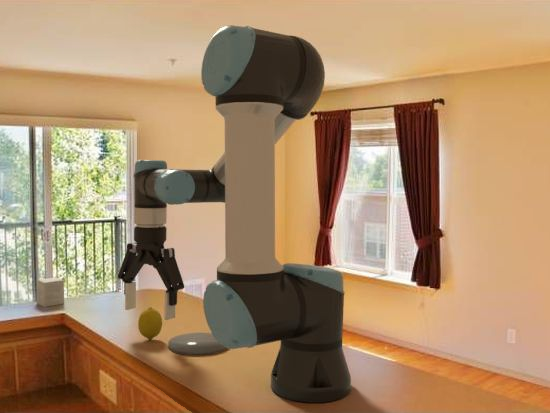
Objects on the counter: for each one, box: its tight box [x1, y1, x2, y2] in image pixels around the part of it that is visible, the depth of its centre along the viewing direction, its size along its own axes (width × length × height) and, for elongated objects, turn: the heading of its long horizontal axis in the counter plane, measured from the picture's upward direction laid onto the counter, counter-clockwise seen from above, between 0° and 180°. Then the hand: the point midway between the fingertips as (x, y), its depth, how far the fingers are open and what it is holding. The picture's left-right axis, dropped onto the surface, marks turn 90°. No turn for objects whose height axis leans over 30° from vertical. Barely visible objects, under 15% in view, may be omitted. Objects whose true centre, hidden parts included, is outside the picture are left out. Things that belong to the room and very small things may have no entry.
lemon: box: [137, 306, 163, 341], centre depth 134 cm, size 6×6×8 cm
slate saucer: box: [167, 332, 228, 356], centre depth 130 cm, size 14×14×1 cm
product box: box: [36, 277, 65, 308], centre depth 168 cm, size 6×6×7 cm
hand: (149, 313), depth 134 cm, fingers open, 13 cm apart
